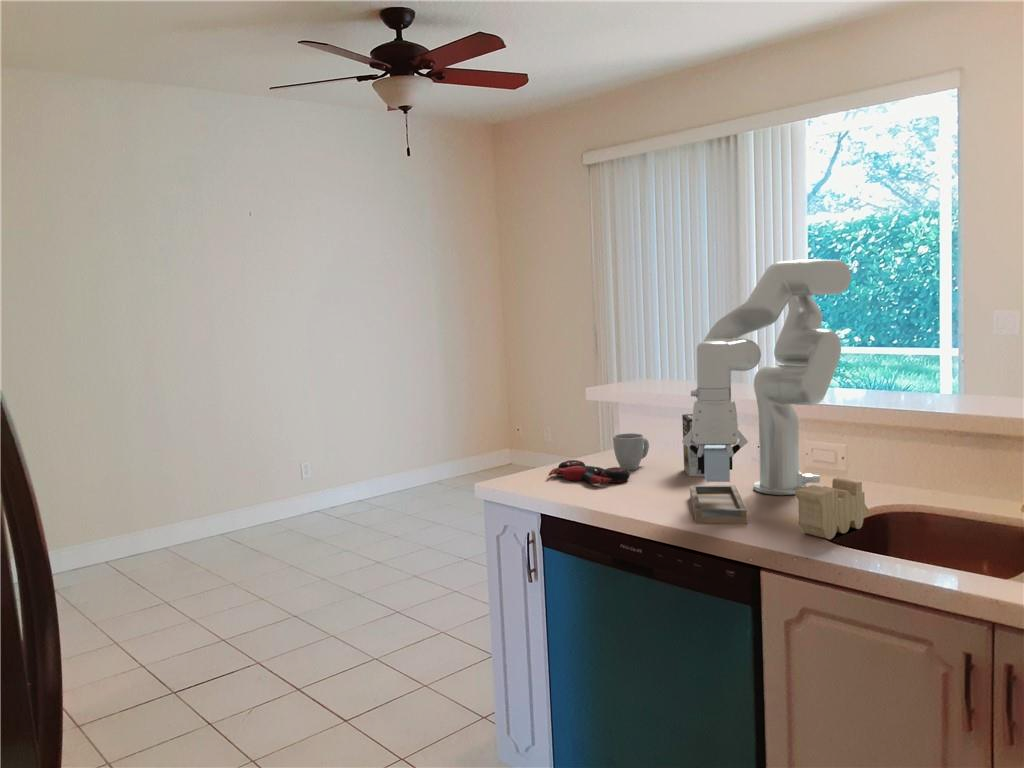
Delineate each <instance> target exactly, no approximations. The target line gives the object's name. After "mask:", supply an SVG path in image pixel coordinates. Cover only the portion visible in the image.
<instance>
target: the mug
mask: <svg viewBox="0 0 1024 768" xmlns="http://www.w3.org/2000/svg"><path fill="white" fill-rule="evenodd" d="M612 439H613V450H614V451H613V452H614V454H615V458H616V461H617V463H618V465H619V467H620V468H624V469H627V470H628V471H633V470H638V469H639V467H640V465H641V464H640V463H642V462H641V461H642V460H643V459H645V458H646V457H647V455H648V454H649V453H648V452H649V450H650V449H649V448H650V444H649V440H648V439H647V438H645V437H644V435H643V434H641V433H633V432H632V433H629V432H627V433H617V434H615V435H613V437H612Z"/></svg>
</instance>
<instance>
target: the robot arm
mask: <svg viewBox="0 0 1024 768" xmlns="http://www.w3.org/2000/svg"><path fill="white" fill-rule="evenodd" d="M851 280H852V272H851V270H850V268H849V266H848V264H847V263H846V262H845V261H843V260H842V259H841V260H840V259H813V258H812V259H809V258H808V259H793V260H783V261H777V262H774V263H772V264H771V265H769V266H768V267H767V268H766V270H764V273H763V274H762V276H761V277H760V279H759V281H758V283H756V285H755V287H754V288H753V290H752V292H751V293H750V295H749V297H748V298H747V300H746V301H744V302H743V303H742V304H740V305H739V306H738V307H736V308H734V309H732V310H731V311H730V312H728V313H727V314H726V315H724V316H723V317H721V318H720V319H718V321H716V323H715V324H713V326H712V327H711V328H710V330H709V331H708V333H707V334H706V336H705V338H704V340H703V341H702V342H700V343H698V344H697V346H696V388H695V389H693V390H690V397H695V398H696V399H697V400H694V403H693V407H692V409H693V410H692V414H693V416H692V429H691V430H690V432H689V433H688V434H687V435H686V436H685V438H684V439H683V438H682V440H681V442H682V444H684V445H685V446H687V447H688V448H690V449H691V450H692V451H693V452H694V453H695V454H696V455H697V456H698V470H701V474H704V456H703V451H704V447H705V445H724V446H725V448H726V450H727V451H728V453H729V456H730V470H731V471H733V457H734V455H735V454H736V453H737V452H739V451H740V449H741V448H743V447H744V446H746V445H747V444H748V442H749V440H748V439H747V438H746V437H745V436H744V435H743V434H742V432H741V431H740V430H739V428H738V414H737V413H738V412H737V407H736V402H735V400H733V399H732V375H731V374H732V373H731V372H732V371H733V372H747V371H751V370H753V369H754V368H755V367H757V366H758V365H759V363H760V361H761V357H762V352H761V351H762V350H761V349H760V346H759V345H758V344H757V342H756V341H753V340H751V339H748V338H740V337H743V336H745V335H747V334H749V333H752V332H756V331H759V330H762V329H764V328H767V327H769V326H771V325H773V324H774V323H775V322H776V321H777V320H779V317H780V316H781V314H782V312H783V311H784V310H785V307H786V306H788V310H787V311H788V312H787V316H786V319H785V321H784V324H783V325H782V328H781V331H780V333H779V336H778V337H777V341H776V343H775V345H774V351H773V353H774V354H773V355H774V359H775V360H776V362H778V363H779V364H769V365H764V366H763V367H762V368H760V369H758V371H757V372H756V373H755V374H754V378H753V379H754V380H753V389H754V394H755V399H756V404H757V413H758V439H759V440H758V450H759V451H758V453H759V456H758V457H759V480H758V481H755V482H754V483H753V489H754V491H756V492H758V493H761V494H766V495H772V496H773V495H776V496H790V495H792V496H793V495H795V492H796V490H798V489H801V488H804V487H807V483H809V484H810V483H812V484H820V481H821V480H820V475H817V474H812V473H802V471H801V470H800V422H799V417H798V415H797V412H796V410H795V408H794V406H793V405H796V406H797V405H799V406H806V407H807V406H815V405H818V404H820V403H821V402H822V401H823V400H824V398H825V396H826V395H827V392H828V390H829V387H830V384H831V383H832V380H833V377H834V375H835V372H836V371H837V370H836V369H837V367H838V364H839V362H840V358H841V355H842V354H841V353H842V344H841V339H840V337H839V335H838V334H837V333H836V332H835V331H834V330H831V329H829V328H828V329H826V328H821V326H822V322H823V314H822V311H821V308H820V307H819V305H818V304H817V303H816V301H815V298H814V297H813V296H824V295H825V296H827V295H831V296H832V295H840V294H842V293H844V292H845V291H846V290H847V289H848V287H849V285H850V283H851ZM692 438H693V442H694V443H695V444H697V445H698V447H696V446H695V445H694V444H692V443H691V442H690V440H691V439H692ZM738 440H739V441H738ZM732 445H733V446H732Z"/></svg>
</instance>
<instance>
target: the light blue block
mask: <svg viewBox="0 0 1024 768" xmlns="http://www.w3.org/2000/svg"><path fill="white" fill-rule="evenodd" d="M703 456H704V476H703V477H704V479H705V480H706V481H705V482H706V483H711V482H712V483H718V482H719V483H725V482H726V483H730V482H731V481H730V480H731V478H730V477H731V474H730V472H731V471H730V456H729V453H728V451H727V450H726V447H725V445H705V447H704V451H703Z"/></svg>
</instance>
